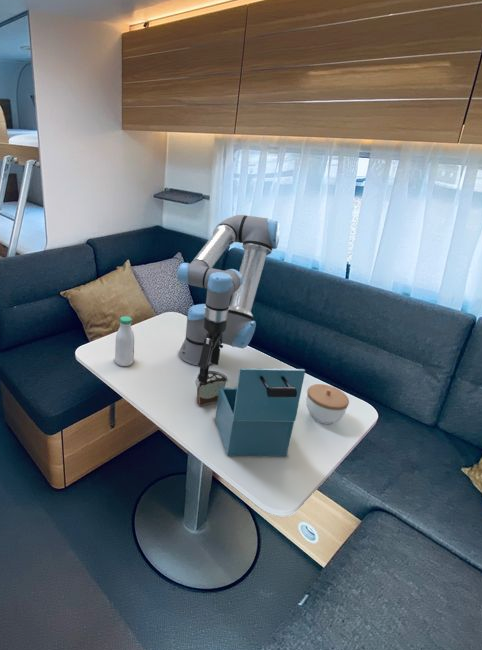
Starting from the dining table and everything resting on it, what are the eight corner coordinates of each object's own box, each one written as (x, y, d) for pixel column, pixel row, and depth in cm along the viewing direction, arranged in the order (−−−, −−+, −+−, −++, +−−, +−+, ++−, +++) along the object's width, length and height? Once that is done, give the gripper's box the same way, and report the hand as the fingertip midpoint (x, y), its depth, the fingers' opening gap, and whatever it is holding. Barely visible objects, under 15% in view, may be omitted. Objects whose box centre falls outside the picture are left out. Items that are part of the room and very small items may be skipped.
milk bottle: (131, 367, 166) (133, 323, 159) (113, 365, 167) (114, 321, 160) (134, 357, 173) (136, 315, 166) (117, 355, 174) (118, 313, 167)
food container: (215, 390, 153) (218, 367, 150) (225, 399, 148) (228, 376, 144) (186, 396, 149) (189, 373, 145) (195, 407, 144) (198, 383, 140)
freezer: (214, 419, 138) (219, 387, 133) (267, 420, 138) (273, 388, 134) (227, 455, 123) (232, 420, 118) (286, 456, 123) (294, 421, 119)
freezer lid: (239, 368, 113) (250, 387, 104) (304, 369, 113) (319, 388, 105) (232, 418, 118) (241, 440, 110) (293, 419, 119) (307, 441, 110)
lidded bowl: (296, 405, 146) (301, 379, 142) (330, 404, 147) (336, 378, 143) (314, 430, 134) (321, 402, 130) (351, 429, 135) (358, 401, 131)
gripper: (215, 303, 149) (209, 353, 156) (192, 330, 128) (186, 387, 136) (235, 307, 146) (228, 359, 153) (215, 336, 125) (208, 394, 132)
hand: (208, 372), depth 144 cm, fingers open, 13 cm apart
